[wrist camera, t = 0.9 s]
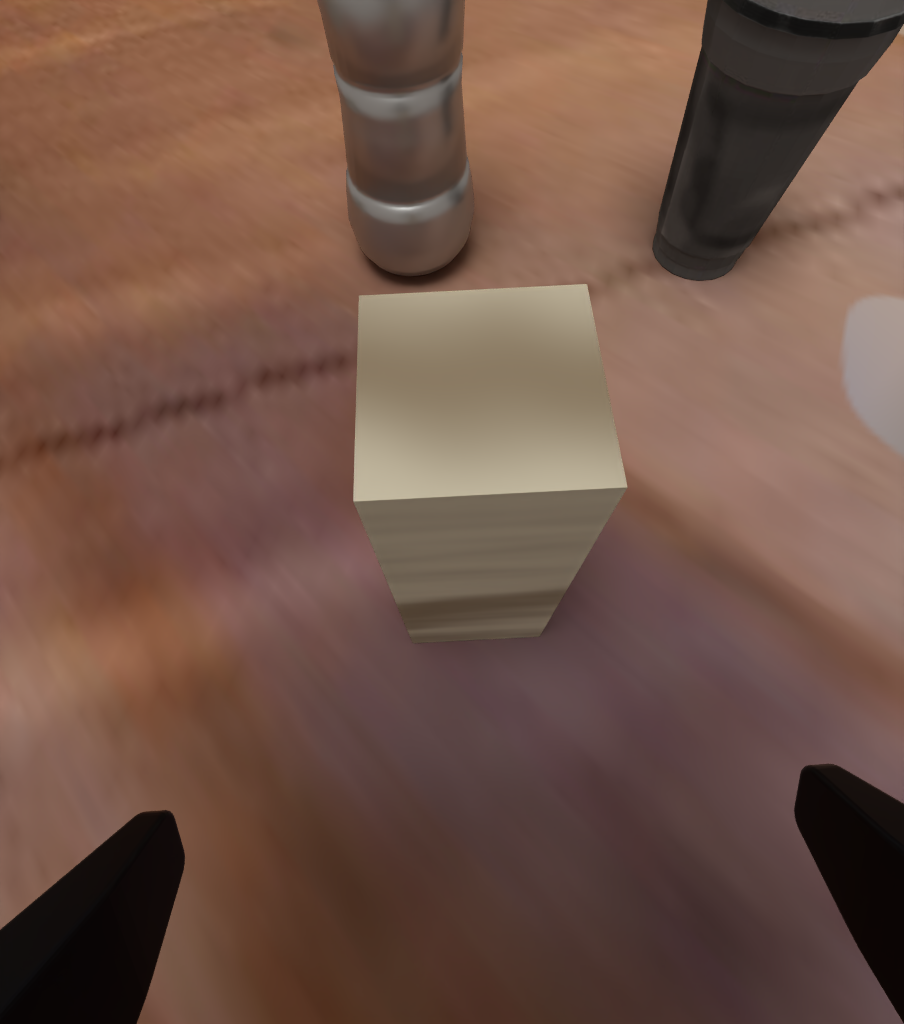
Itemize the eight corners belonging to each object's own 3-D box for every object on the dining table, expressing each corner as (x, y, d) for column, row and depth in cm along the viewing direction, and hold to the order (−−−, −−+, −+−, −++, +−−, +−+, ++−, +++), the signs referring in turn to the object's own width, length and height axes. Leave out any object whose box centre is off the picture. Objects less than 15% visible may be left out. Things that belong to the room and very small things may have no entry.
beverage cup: (750, 316, 29) (1256, -479, 10) (611, 278, 30) (842, -490, 12) (773, 223, 31) (1206, -535, 13) (645, 191, 33) (876, -539, 14)
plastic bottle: (338, 279, 30) (145, -464, 12) (382, 197, 33) (280, -515, 15) (452, 305, 29) (431, -457, 11) (488, 219, 32) (521, -512, 14)
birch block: (539, 636, 22) (626, 487, 10) (412, 643, 22) (353, 501, 10) (526, 520, 24) (587, 283, 12) (410, 526, 24) (359, 295, 12)
